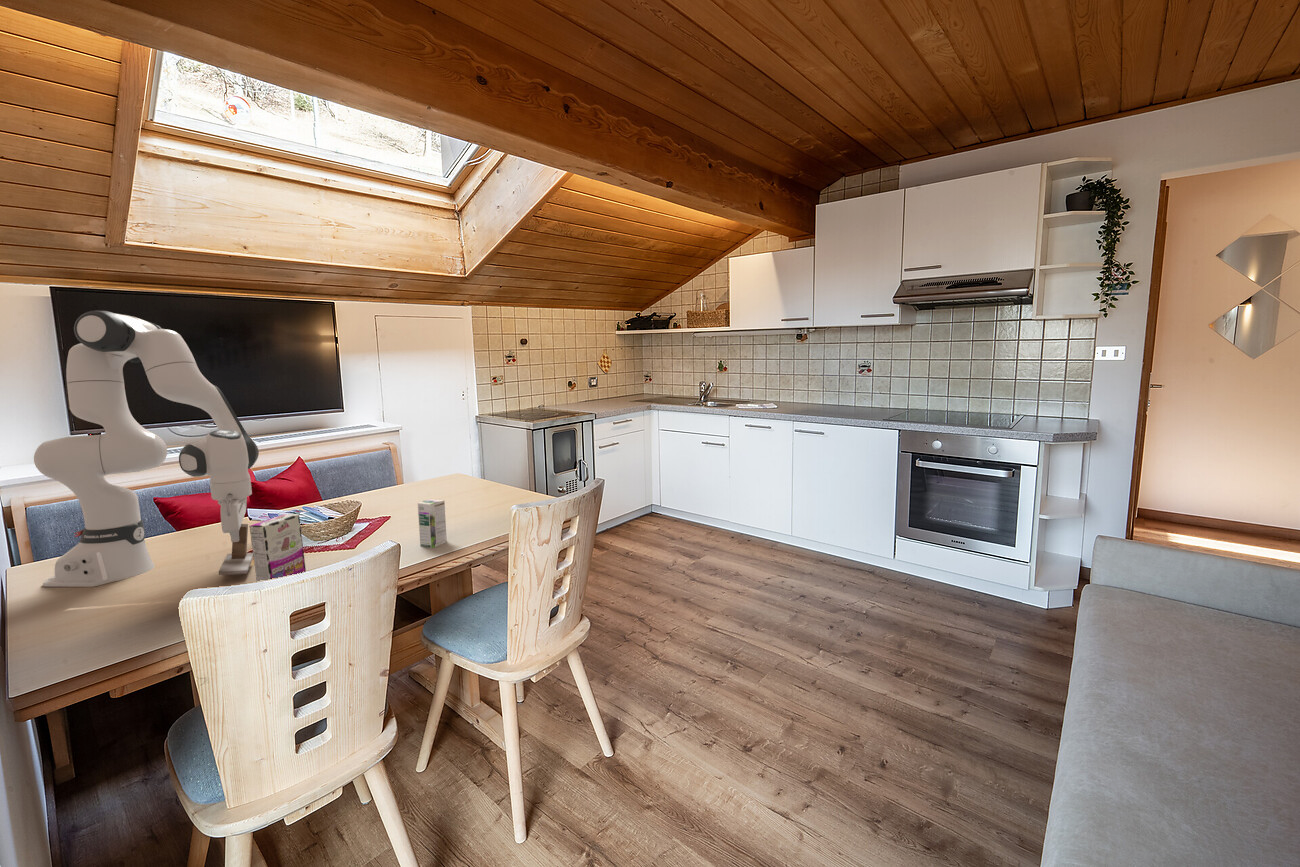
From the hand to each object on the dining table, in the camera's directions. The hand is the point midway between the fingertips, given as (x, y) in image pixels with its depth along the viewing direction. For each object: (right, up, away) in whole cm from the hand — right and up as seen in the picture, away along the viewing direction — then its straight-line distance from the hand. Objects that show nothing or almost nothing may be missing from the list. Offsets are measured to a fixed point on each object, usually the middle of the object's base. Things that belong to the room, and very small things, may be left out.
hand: (236, 538), depth 154 cm
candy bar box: (+17, -10, -6) cm, 20 cm away
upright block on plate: (+2, -7, -2) cm, 7 cm away
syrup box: (+48, -6, +18) cm, 51 cm away
